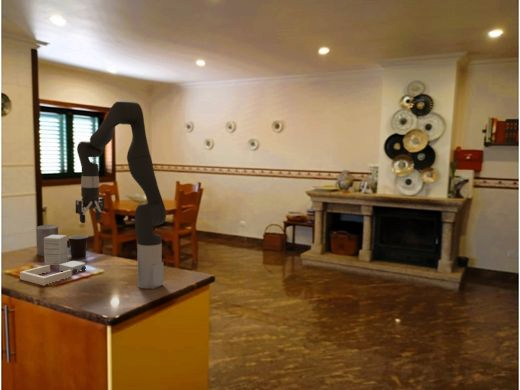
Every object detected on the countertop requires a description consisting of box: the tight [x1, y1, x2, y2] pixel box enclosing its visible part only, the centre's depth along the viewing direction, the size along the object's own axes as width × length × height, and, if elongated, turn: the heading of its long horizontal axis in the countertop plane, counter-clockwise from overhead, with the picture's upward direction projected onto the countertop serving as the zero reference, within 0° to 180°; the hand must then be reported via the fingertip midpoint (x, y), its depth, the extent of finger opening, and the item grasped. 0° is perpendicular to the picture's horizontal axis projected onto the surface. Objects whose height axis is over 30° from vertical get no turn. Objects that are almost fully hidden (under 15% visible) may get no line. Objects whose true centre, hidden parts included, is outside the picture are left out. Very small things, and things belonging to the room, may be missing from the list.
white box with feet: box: [58, 260, 87, 274], centre depth 181 cm, size 9×8×3 cm
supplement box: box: [43, 234, 69, 266], centre depth 191 cm, size 7×7×13 cm
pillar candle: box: [36, 223, 59, 257], centre depth 206 cm, size 10×10×15 cm
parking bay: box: [19, 264, 73, 286], centre depth 169 cm, size 15×13×3 cm
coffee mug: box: [68, 234, 88, 260], centre depth 204 cm, size 12×9×10 cm
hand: (90, 221), depth 187 cm, fingers open, 8 cm apart
